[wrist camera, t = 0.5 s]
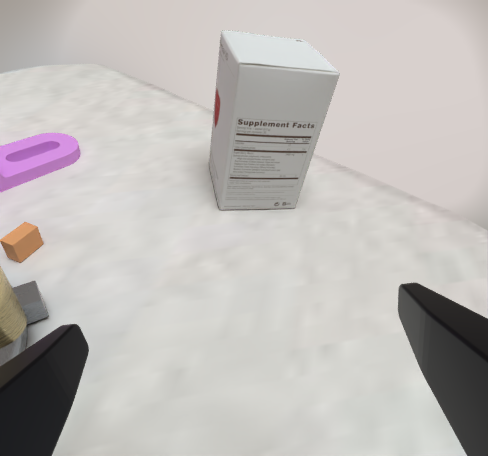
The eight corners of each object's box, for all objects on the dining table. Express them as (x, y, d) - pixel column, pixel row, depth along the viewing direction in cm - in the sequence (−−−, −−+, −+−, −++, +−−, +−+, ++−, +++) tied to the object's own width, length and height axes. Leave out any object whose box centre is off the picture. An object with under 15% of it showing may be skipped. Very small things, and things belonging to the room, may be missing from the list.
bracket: (-36, 207, 30) (-72, 138, 26) (-65, 180, 32) (-104, 111, 28) (90, 157, 39) (80, 98, 34) (61, 138, 41) (47, 80, 36)
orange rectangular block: (20, 263, 27) (12, 245, 26) (7, 257, 27) (-1, 240, 26) (43, 243, 29) (37, 226, 27) (31, 238, 29) (25, 221, 27)
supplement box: (206, 163, 42) (219, 27, 31) (275, 165, 44) (307, 38, 34) (217, 211, 35) (236, 59, 25) (296, 210, 37) (344, 70, 27)
